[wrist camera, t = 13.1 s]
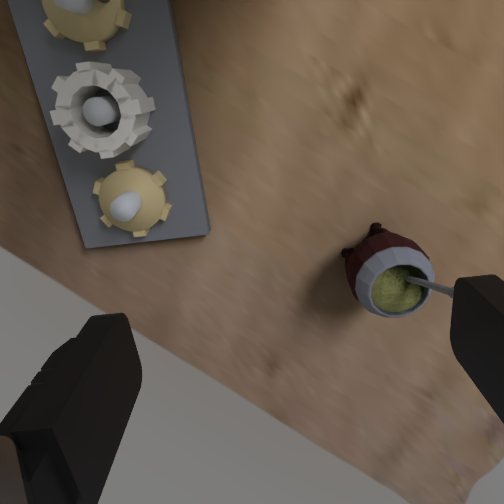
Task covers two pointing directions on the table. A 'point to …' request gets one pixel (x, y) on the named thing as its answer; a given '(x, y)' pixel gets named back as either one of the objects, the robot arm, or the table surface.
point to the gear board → (164, 120)
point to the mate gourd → (390, 274)
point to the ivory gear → (86, 86)
